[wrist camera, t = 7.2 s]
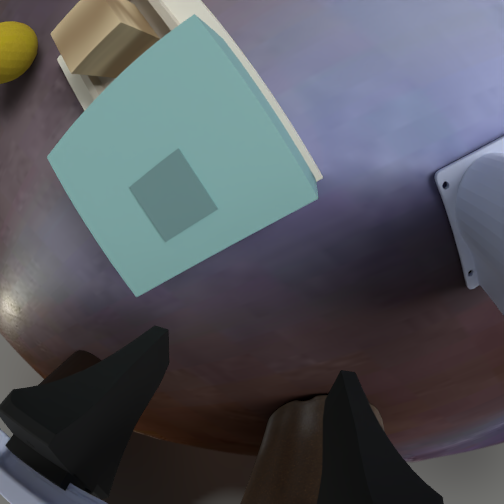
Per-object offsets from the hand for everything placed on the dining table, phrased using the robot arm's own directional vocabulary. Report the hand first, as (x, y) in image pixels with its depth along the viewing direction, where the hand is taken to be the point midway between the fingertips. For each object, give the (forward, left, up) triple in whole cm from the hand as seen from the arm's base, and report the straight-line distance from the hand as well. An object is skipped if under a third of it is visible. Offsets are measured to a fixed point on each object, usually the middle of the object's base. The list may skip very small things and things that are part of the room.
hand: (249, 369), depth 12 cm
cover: (+9, 0, -7) cm, 11 cm away
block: (+19, 0, -9) cm, 21 cm away
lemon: (+27, +8, -10) cm, 30 cm away
